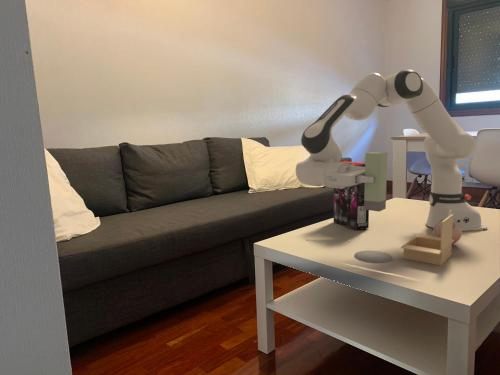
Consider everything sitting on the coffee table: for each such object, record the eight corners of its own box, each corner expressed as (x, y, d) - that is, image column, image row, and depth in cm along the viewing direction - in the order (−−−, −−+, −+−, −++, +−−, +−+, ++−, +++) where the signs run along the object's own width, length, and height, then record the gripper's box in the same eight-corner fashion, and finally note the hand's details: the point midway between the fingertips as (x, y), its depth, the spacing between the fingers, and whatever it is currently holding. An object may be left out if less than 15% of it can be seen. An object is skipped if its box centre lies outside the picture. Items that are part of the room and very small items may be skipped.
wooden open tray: (400, 262, 124) (401, 218, 122) (418, 248, 137) (419, 208, 135) (438, 269, 117) (440, 223, 115) (453, 254, 130) (455, 212, 128)
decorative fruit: (467, 248, 135) (468, 220, 133) (445, 250, 134) (446, 222, 132) (449, 241, 144) (450, 214, 142) (428, 242, 143) (429, 215, 141)
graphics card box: (332, 222, 177) (332, 161, 172) (345, 220, 179) (345, 160, 175) (356, 231, 161) (357, 164, 157) (370, 228, 164) (371, 163, 159)
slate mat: (387, 252, 134) (387, 250, 134) (397, 264, 122) (397, 262, 122) (351, 252, 135) (351, 250, 135) (357, 264, 124) (357, 262, 123)
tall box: (364, 209, 126) (365, 153, 123) (370, 206, 130) (372, 151, 127) (379, 211, 123) (381, 153, 120) (385, 208, 126) (387, 152, 124)
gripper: (322, 169, 125) (364, 171, 116) (352, 163, 140) (391, 165, 131) (322, 188, 126) (363, 193, 117) (352, 180, 141) (390, 184, 132)
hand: (378, 178), depth 124 cm, fingers closed on tall box, 5 cm apart
